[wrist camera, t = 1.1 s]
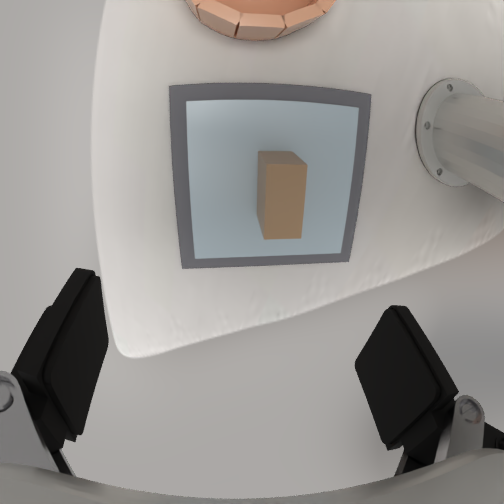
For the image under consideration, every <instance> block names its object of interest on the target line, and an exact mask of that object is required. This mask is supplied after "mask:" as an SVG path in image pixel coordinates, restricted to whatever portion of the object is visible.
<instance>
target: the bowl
mask: <svg viewBox="0 0 504 504" xmlns="http://www.w3.org/2000/svg"><path fill="white" fill-rule="evenodd" d="M185 1H186V3H187V4H188V6H189V7H190V9H191V11H192V12H193V14H194V15H195V16H196V17H197V18H198V20H199V21H201V23H203V24H205V25H206V26H207V27H209V28H210V29H212V30H214V31H216V32H218V33H220V34H223V35H225V36H229V37H232V38H236V39H242V40H251V41H260V40H270V39H271V40H273V39H276V38H279V37H282V36H285V35H288V34H290V33H292V32H294V31H296V30H298V29H301V28H303V27H306V26H307V25H309V24H310V23H312V22H313V21H315V20H316V19H318V18H319V17H321V16H322V15H324V14H325V13H327V12H328V10H329V9H330V8H331V6H332V5H333V4H334V2H335V1H336V0H185Z"/></svg>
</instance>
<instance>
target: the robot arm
mask: <svg viewBox="0 0 504 504" xmlns="http://www.w3.org/2000/svg"><path fill="white" fill-rule="evenodd" d="M416 138H417V145H418V150H419V153H420V157H421V159H422V161H423V164H424V166H425V167H426V169H427V170H428V172H429V173H430V174H431V175H432V176H433V177H434V178H435V179H437V180H438V181H440V182H442V183H443V184H446V185H448V186H453V187H459V186H464V185H467V184H469V183H471V184H473V185H475V186H476V187H478V188H480V189H482V190H483V191H485V192H487V193H489V194H490V195H492V196H494V197H495V198H497V199H499V200H500V201H502V202H503V203H504V101H499V100H495V99H491V98H486V97H484V95H483V94H482V93H481V91H480V90H479V89H478V88H477V87H475V86H474V85H473V84H471V83H469V82H468V81H465V80H461V79H452V78H451V79H445V80H442V81H440V82H438V83H437V84H435V85H434V86H433V87H432V88H431V89H430V90H429V91H428V93H427V94H426V95H425V97H424V99H423V101H422V103H421V106H420V109H419V113H418V118H417V125H416ZM107 348H108V333H107V326H106V320H105V313H104V305H103V297H102V289H101V280H100V277H99V276H96V275H95V272H94V271H93V270H86V269H81V268H76V269H75V270H74V272H73V273H72V275H71V276H70V278H69V279H68V281H67V282H66V284H65V285H64V287H63V289H62V290H61V292H60V293H59V295H58V297H57V298H56V300H55V302H54V303H53V305H52V306H49V307H47V308H46V310H45V311H44V313H43V314H42V316H41V318H40V319H39V321H38V323H37V325H36V327H35V328H34V330H33V332H32V333H31V335H30V337H29V339H28V341H27V343H26V344H25V346H24V348H23V350H22V352H21V354H20V356H19V358H18V360H17V362H16V364H15V366H14V368H13V370H12V372H11V374H9V373H7V372H5V371H0V504H504V433H503V432H501V431H500V430H498V429H496V428H494V427H493V426H491V425H489V424H487V423H486V422H484V420H485V416H484V411H483V408H482V407H481V405H480V403H479V402H478V401H477V400H476V399H474V398H473V397H471V396H468V395H462V396H460V397H459V398H458V399H457V400H456V401H454V397H455V396H456V395H457V394H458V392H459V391H458V389H457V388H456V386H455V384H454V382H453V380H452V378H451V377H450V375H449V373H448V372H447V370H446V368H445V366H444V365H443V363H442V361H441V360H440V358H439V356H438V355H437V353H436V351H435V350H434V348H433V347H432V345H431V343H430V341H429V340H428V338H427V337H426V335H425V334H424V332H423V331H422V329H421V327H420V326H419V324H418V323H417V321H416V320H415V318H414V316H413V315H412V314H411V312H410V310H409V309H408V308H407V307H406V306H397V305H392V306H390V307H389V308H388V309H386V310H385V311H384V313H383V315H382V317H381V318H380V320H379V322H378V324H377V325H376V327H375V329H374V331H373V332H372V334H371V336H370V337H369V339H368V341H367V342H366V344H365V346H364V348H363V349H362V351H361V352H360V354H359V356H358V357H357V359H356V361H355V369H356V372H357V375H358V377H359V380H360V383H361V385H362V388H363V390H364V393H365V396H366V398H367V401H368V404H369V407H370V410H371V412H372V415H373V418H374V421H375V423H376V426H377V429H378V432H379V435H380V438H381V440H382V442H383V443H384V444H385V445H386V447H387V450H393V449H397V448H400V447H401V446H402V445H403V447H404V451H403V454H402V457H401V460H400V462H399V465H398V467H397V470H396V472H395V475H394V477H391V478H387V479H384V480H380V481H376V482H372V483H368V484H364V485H359V486H354V487H350V488H345V489H339V490H333V491H328V492H321V493H315V494H307V495H298V496H288V497H275V498H256V499H214V498H195V497H183V496H173V495H165V494H157V493H150V492H144V491H137V490H132V489H126V488H121V487H116V486H111V485H107V484H102V483H98V482H94V481H90V480H86V479H82V478H78V477H76V476H75V474H74V472H73V470H72V468H71V467H70V465H69V463H68V461H67V459H66V457H65V456H64V454H63V452H62V450H61V448H63V444H64V441H65V439H67V440H70V441H73V442H76V437H77V435H82V433H83V430H84V427H85V423H86V419H87V415H88V411H89V407H90V404H91V400H92V397H93V393H94V390H95V386H96V383H97V380H98V377H99V373H100V370H101V367H102V364H103V360H104V358H105V355H106V351H107Z"/></svg>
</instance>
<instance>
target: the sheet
mask: <svg viewBox="0 0 504 504" xmlns="http://www.w3.org/2000/svg"><path fill="white" fill-rule="evenodd" d="M186 111H187V144H188V167H189V186H190V202H191V216H192V229H193V241H194V253H195V259H202V258H230V257H256V256H282V255H307V254H332V253H341V248H342V242H343V236H344V230H345V224H346V217H347V211H348V204H349V197H350V189H351V182H352V173H353V165H354V156H355V147H356V136H357V125H358V112H359V108H357V107H349V106H341V105H333V104H323V103H312V102H298V101H281V100H202V101H186Z"/></svg>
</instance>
